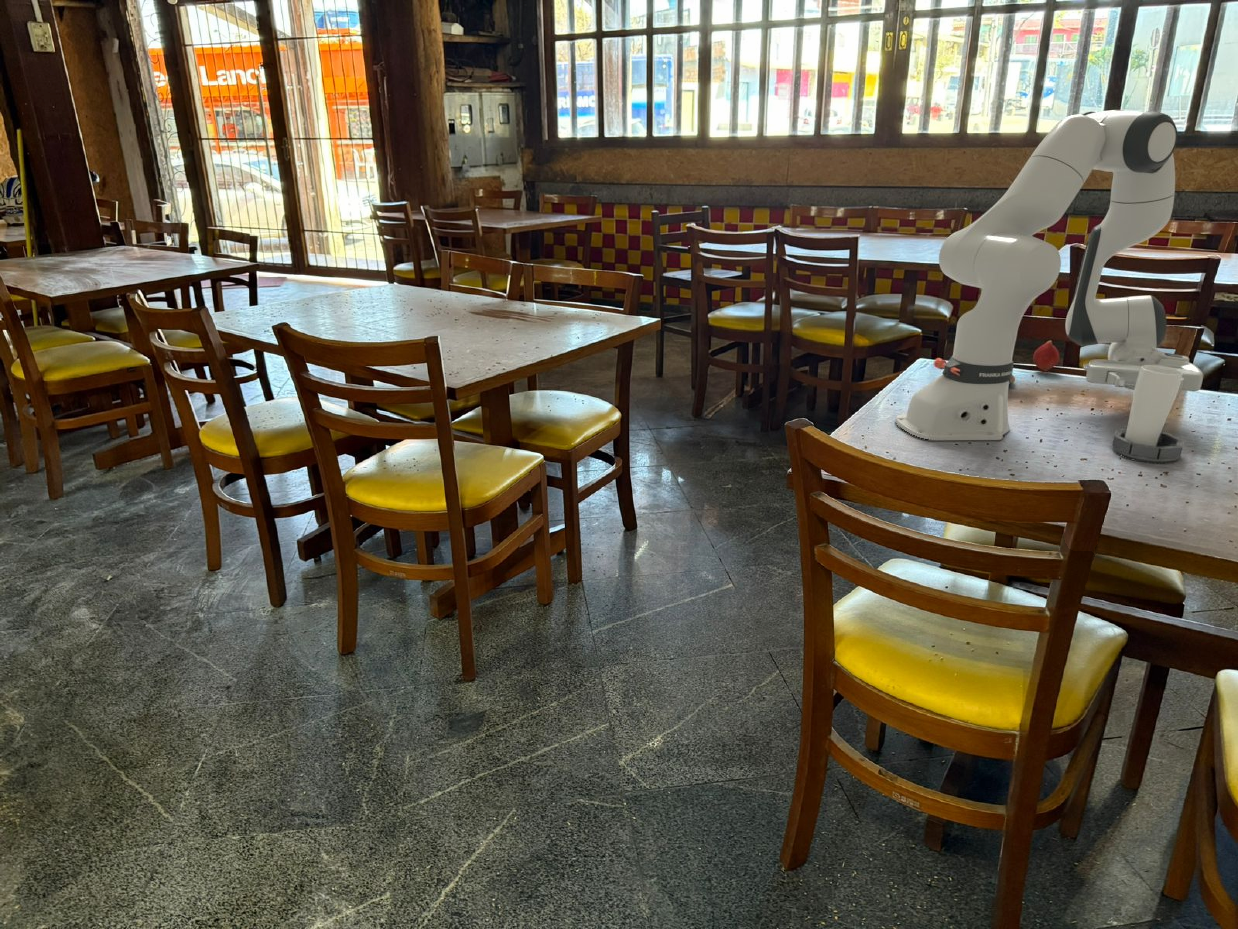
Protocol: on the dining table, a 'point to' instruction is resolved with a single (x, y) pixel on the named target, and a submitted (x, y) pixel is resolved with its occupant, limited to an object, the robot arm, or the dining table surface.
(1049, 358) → the onion
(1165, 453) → the ring
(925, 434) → the robot arm
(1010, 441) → the dining table surface
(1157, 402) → the drinking glass
